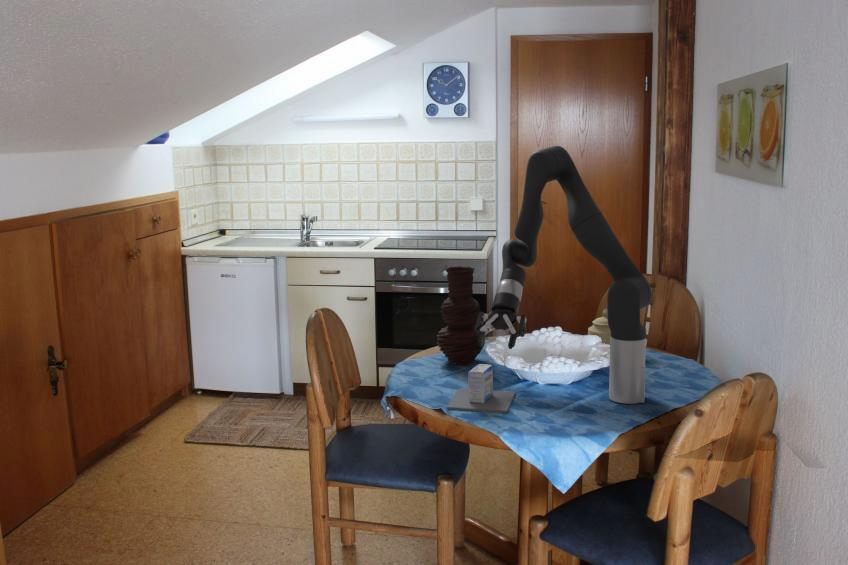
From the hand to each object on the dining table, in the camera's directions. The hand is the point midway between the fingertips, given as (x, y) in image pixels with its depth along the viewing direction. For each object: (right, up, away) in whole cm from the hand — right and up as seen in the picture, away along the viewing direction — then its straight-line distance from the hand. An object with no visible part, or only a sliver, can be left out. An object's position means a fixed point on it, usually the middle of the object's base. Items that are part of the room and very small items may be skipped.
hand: (495, 346), depth 228 cm
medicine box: (-4, -14, -8) cm, 16 cm away
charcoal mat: (-4, -14, -8) cm, 17 cm away
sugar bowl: (+41, -5, +36) cm, 55 cm away
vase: (-8, -7, +31) cm, 33 cm away
